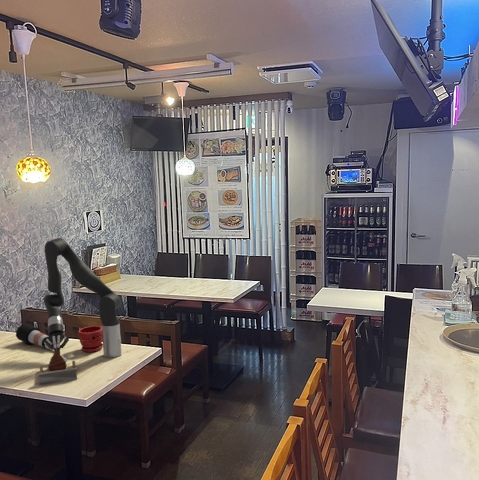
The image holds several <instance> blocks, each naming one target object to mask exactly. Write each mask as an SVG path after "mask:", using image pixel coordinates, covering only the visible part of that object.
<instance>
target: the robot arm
mask: <svg viewBox="0 0 479 480" xmlns="http://www.w3.org/2000/svg"><path fill="white" fill-rule="evenodd" d="M44 256H45V263H46V268H47V290H48V292H50V293H51V294H47V295H45V296H44V297H43V303H44V306H45V309H46V311H47V316H48V321H47V328H48V329H47V330H48V335H47V336H48V339H46V340H44V344H45V345H46V346H47V347H49V348H50V349H51V350H50V349H49V350H50V351H53V353H54V352H55V351H58V352H59V353H60V354H61V349H64V348H65V346H66V345H67V343H68V342H69V341H70V337H69V336H66V335H65V333H64V321H63V314H62V313H63V311H62V309H61V308H60V307H62V306H64V304H65V298H64V294H63V291H62V282H63V281H62V280H63V279H62V274H61V271H60V270H59V267H58V257H59V256H61V257H63V259H64V260H65V261H66V262H67V263H68V266H69V269H70V272H71V275H72V277H73V278H74V279H75V280H76V281H77V282H78V283H79V285H81V286H82V287H84V288H85V289H87V290H89V291H92V292H93V293H95V294H96V295H97V296H98V297H99V298H100V300H99V303H98V311H99V319H100V321H101V327H102V335H103V340H102V344H103V347H102V348H103V350H102V351H103V357H105V358H108V359H109V358H116V357H120V356H122V337H121V326H120V323H121V321H120V318H119V317H118V316H117V311H116V310H117V309H119V308H120V307H121V304H122V301H121V297H120V296H119V295H118V294H117V293H115V291H113V290H112V289H111V288H109V287H108V285H106V283H104V282H103V281H102V280H101V279H100V277H99V276H98V275H96V273H95V272H94V271H93V270H92V269H91V268H90V267H89V266H88V265H87V264H86V263H85V262H84V261H83V260H82V259H81V258H80V257H79V256H78V254H77V253H76V252H75V251H74V250H73V248H72V246H71V245H70V244H69V243H68V242H67V241H66V240H65V239H64V238H61V237H58V238H57V237H56V238H53V239H51V240H48V241H47V242H46V243H45V245H44ZM52 293H54V294H52ZM49 341H50V342H51V343H52V344H53V345H54V346H52V345H51V344H50V343H49ZM56 344H57V348H56ZM52 349H53V350H52Z"/></svg>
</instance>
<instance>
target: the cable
mask: <svg viewBox="0 0 479 480" xmlns="http://www.w3.org/2000/svg"><path fill="white" fill-rule="evenodd" d="M15 331H16V332H15V337H16V339H17V340H18V341H21V342H23V343H25V344H27V345H30V346H33V345H35V346H39V347H42V348H44V349H47V350H50V351H54V350H53V349H52V350H51V349H50V348H49V347H47V346H46V345H45V344H44V340H46V339H48V336H49V335H47V334H45V333H43V332H42V330H41V329H40V328H38V327H36V326H33V325H31V324H29V323H23V324H21V325H19V326H18V327H17V329H16V330H15ZM49 343H50V344H51V345H52V346H54V345H53V344H52V343H51V342H50V341H49ZM56 348H57V344H56Z"/></svg>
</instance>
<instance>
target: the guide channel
mask: <svg viewBox="0 0 479 480" xmlns="http://www.w3.org/2000/svg"><path fill="white" fill-rule="evenodd" d="M71 364H72V367H71V368H66V369H64V370H58V371H51V370H50V371H46V372H44V366H43V365H39V373H38V380H39V382H38V383H39V386H45V385H50V384H56V383H57V384H58V383H62V382H69V381H75V380H78V373H77V367H76V361H75V360H72V363H71Z"/></svg>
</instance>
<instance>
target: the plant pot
mask: <svg viewBox="0 0 479 480" xmlns="http://www.w3.org/2000/svg"><path fill="white" fill-rule="evenodd" d="M78 339H79V343H80V345H81V351H83V352H86V353H93V352H97V351H100V350H101V349H102V348H103V335H102V326H100V325H91V326H85V327H83V328H80V329H79V330H78Z"/></svg>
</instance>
